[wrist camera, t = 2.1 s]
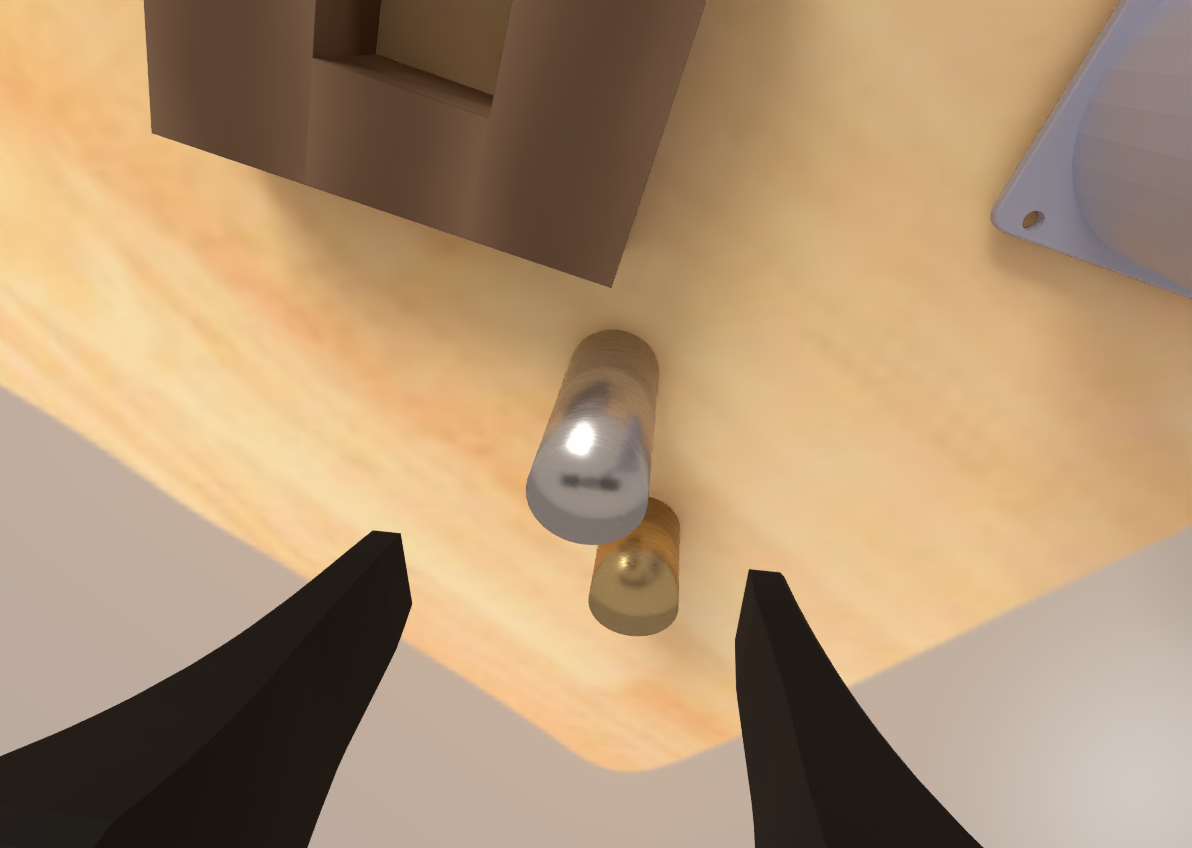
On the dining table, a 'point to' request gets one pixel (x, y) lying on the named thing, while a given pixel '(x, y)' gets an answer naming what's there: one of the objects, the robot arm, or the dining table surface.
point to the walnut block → (436, 114)
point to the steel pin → (598, 442)
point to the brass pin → (639, 576)
